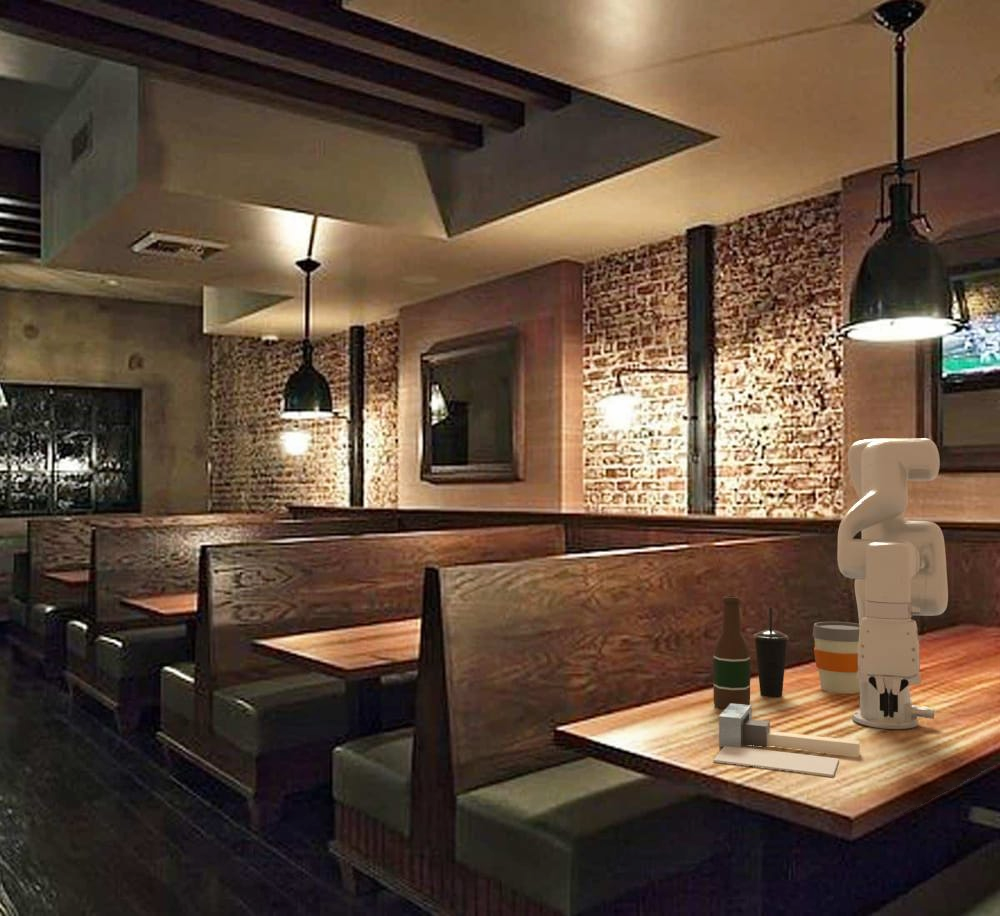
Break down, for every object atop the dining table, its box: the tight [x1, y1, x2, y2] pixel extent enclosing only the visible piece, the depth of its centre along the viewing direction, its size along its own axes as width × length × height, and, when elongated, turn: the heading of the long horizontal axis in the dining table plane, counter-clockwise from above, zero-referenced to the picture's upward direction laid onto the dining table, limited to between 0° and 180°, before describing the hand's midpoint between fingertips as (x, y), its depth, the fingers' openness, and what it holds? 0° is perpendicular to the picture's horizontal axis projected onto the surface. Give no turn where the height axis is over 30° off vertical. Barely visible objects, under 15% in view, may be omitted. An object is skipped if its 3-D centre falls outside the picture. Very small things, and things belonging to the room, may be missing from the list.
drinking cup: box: [753, 607, 789, 698], centre depth 220 cm, size 8×8×20 cm
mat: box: [712, 746, 840, 778], centre depth 169 cm, size 20×10×1 cm, turn 65°
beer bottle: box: [712, 595, 751, 710], centre depth 209 cm, size 8×8×24 cm
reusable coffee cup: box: [812, 621, 860, 695], centre depth 226 cm, size 13×13×15 cm
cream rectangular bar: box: [743, 719, 861, 758], centre depth 177 cm, size 20×4×4 cm, turn 65°
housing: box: [718, 703, 753, 748], centre depth 182 cm, size 4×11×6 cm, turn 155°
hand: (888, 715), depth 170 cm, fingers closed
